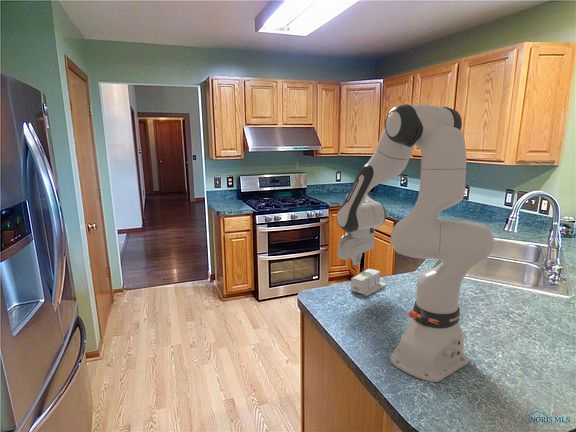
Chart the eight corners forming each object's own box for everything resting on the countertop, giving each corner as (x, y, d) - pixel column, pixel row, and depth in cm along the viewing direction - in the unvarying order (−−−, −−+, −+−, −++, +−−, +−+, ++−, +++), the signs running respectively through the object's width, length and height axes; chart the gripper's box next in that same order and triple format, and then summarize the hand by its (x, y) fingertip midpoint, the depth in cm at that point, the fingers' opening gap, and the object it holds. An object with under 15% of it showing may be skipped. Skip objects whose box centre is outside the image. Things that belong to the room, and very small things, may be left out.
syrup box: (362, 294, 139) (380, 283, 149) (362, 281, 138) (380, 270, 148) (350, 290, 143) (368, 280, 153) (350, 277, 142) (368, 267, 152)
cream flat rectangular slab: (367, 295, 138) (367, 294, 138) (349, 289, 145) (349, 288, 145) (387, 284, 148) (387, 283, 148) (369, 279, 155) (369, 278, 155)
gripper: (346, 238, 127) (346, 273, 129) (377, 227, 140) (377, 259, 143) (333, 235, 131) (333, 269, 134) (364, 225, 145) (364, 256, 148)
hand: (356, 264), depth 139 cm, fingers closed
